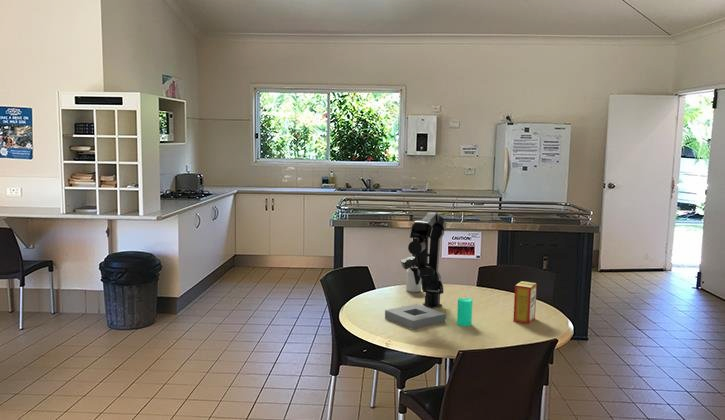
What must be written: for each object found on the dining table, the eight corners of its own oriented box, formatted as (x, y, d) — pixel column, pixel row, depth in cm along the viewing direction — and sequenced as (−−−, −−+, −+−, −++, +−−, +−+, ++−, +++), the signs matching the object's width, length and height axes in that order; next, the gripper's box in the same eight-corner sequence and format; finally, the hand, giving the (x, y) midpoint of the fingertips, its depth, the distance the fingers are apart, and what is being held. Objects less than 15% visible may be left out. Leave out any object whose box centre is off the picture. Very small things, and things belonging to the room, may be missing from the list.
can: (420, 293, 292) (420, 269, 291) (405, 292, 294) (405, 268, 292) (421, 289, 299) (422, 266, 298) (407, 288, 301) (407, 265, 300)
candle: (472, 322, 245) (473, 294, 244) (470, 326, 240) (471, 298, 238) (458, 321, 247) (459, 293, 246) (455, 325, 241) (456, 296, 240)
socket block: (416, 311, 260) (417, 304, 259) (445, 322, 245) (445, 314, 245) (384, 318, 249) (385, 310, 249) (412, 329, 235) (412, 320, 234)
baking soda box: (528, 324, 245) (530, 286, 243) (513, 321, 248) (515, 284, 246) (534, 318, 253) (536, 282, 251) (519, 316, 256) (521, 280, 254)
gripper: (396, 247, 253) (396, 282, 255) (409, 255, 235) (408, 293, 237) (421, 246, 255) (420, 281, 257) (435, 254, 237) (434, 292, 239)
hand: (420, 287), depth 248 cm, fingers open, 9 cm apart
